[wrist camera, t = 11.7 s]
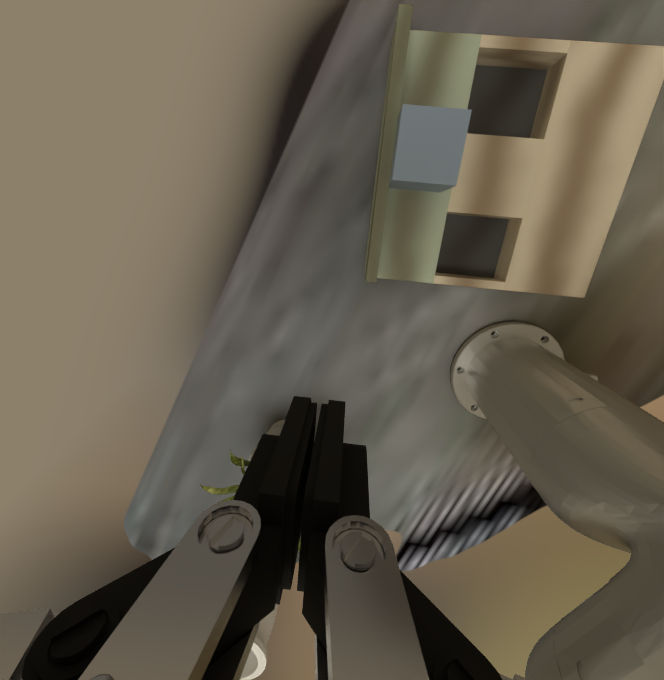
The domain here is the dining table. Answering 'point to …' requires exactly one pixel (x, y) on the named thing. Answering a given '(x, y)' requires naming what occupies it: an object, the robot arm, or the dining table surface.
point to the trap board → (512, 158)
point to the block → (428, 147)
